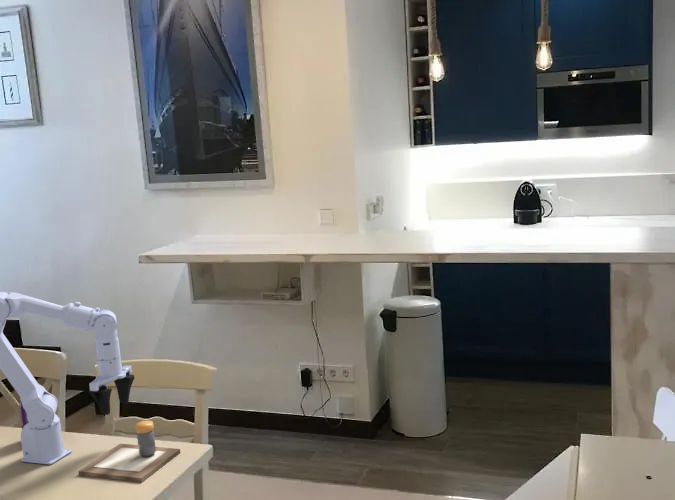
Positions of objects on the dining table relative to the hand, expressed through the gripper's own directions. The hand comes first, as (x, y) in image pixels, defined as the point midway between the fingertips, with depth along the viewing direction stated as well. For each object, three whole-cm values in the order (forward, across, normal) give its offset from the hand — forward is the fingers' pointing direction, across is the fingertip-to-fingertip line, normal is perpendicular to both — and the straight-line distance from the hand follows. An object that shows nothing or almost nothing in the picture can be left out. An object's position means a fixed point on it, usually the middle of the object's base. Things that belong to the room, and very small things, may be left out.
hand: (115, 408), depth 186 cm
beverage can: (+10, -1, +26) cm, 28 cm away
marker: (+9, -6, -13) cm, 17 cm away
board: (+10, -9, -10) cm, 17 cm away
